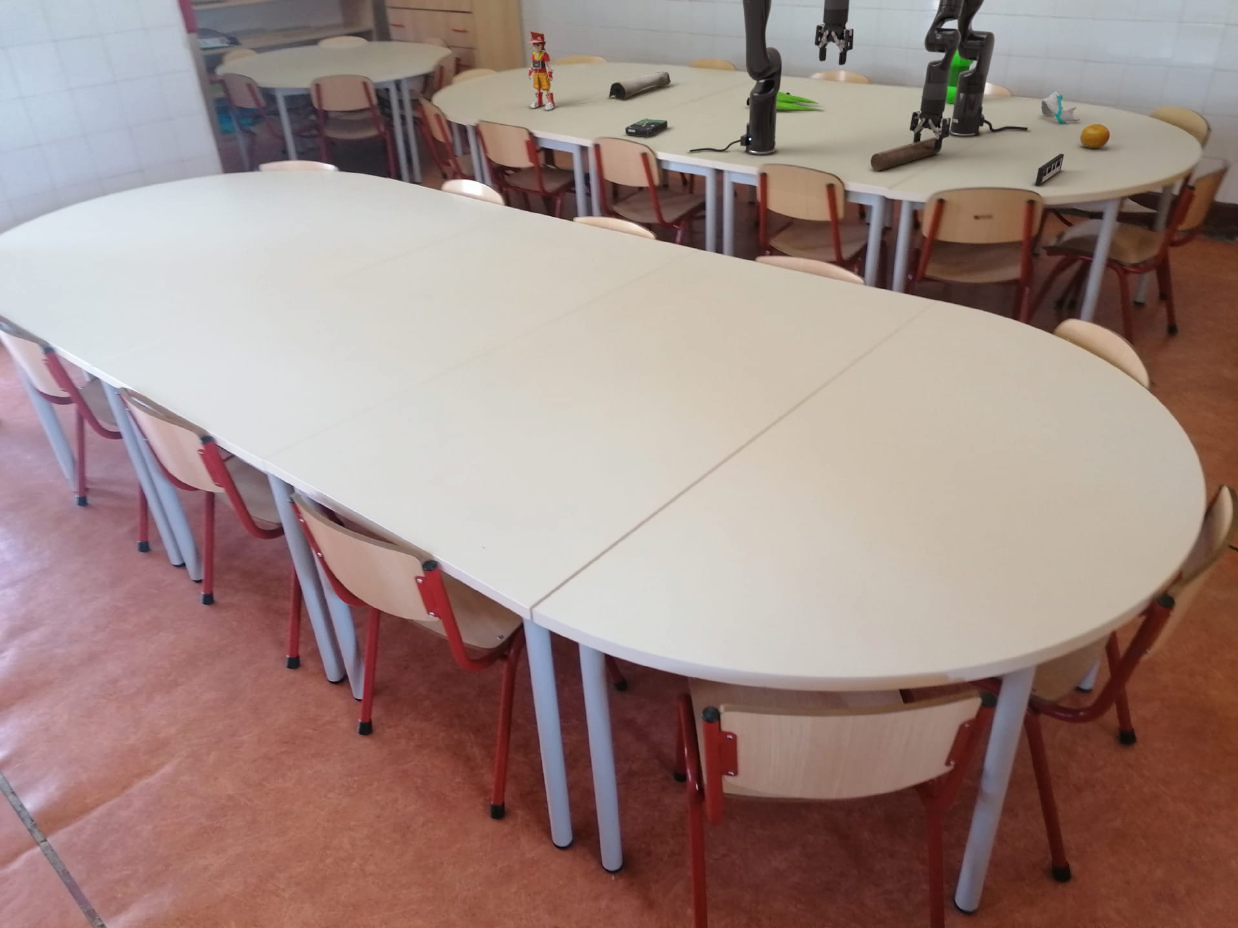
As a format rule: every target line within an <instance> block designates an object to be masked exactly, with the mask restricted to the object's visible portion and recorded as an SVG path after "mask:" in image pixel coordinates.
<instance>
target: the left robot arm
mask: <svg viewBox="0 0 1238 928" xmlns="http://www.w3.org/2000/svg"><path fill="white" fill-rule="evenodd" d="M741 1H742V9H743V18H744V19H743V20H744V30H745V31H744V32H745V67H746V71H747V74H748V76H749V77H750V78H751V79H752V80H753V81H755V84H754V86H753V87H752V89H751V90H750V93H749V97H750V105H749V106H748V107H749V109H748V122H747V123H746V124H745V125H746V127H745V129H746V130H745V132H746V133H745V134H743V135H741V136H740V139H737V140H734V141H732V142H730V143H729V144H728V145H727V146H726V147H725V148H722V149H719V148H713V147H701V148H694V149H689V153H695V152H701V151H714V152H719V153H720V152H725V151H727V150H728V149H729V148H730V147H731V146H733V145H735V144H737V143H740V144H739V146H740V147H745V152H746V153H749V154H751V155H757V156H761V155H762V156H765V155H771V154H773V153H775V152H776V146H777V141H776V131H777V110H778V109H777V95H778V92H780V89H781V81H782V69H783V61H782V60H783V59H782V56H781V53H780V52H779V50H778V49H777V48H775V47H773V46H767V37H766V34H767V26H768V22H769V18H770V13H771V8H772V2H773V1H772V0H741ZM823 1H824V3H823V15H822V24H818V25H816V27H815V36H814V46H817V48H818V51H819V52H818V59H819V60H818V61H819V62H825V61H826V60H827V50H828V48H827V47H828V45H829V44H830V43H833V44H835V45H836V46H837V47H838V50H839V52H838V53H839V54H838V65H839V66H844V65H846V63H847V56H848V52H849V51H852V50H853V49H854V29H853V28H847V26H846V25H847V23H848V22H849V12H850V11H849V10H850V0H823Z"/></svg>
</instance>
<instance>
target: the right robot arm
mask: <svg viewBox="0 0 1238 928" xmlns="http://www.w3.org/2000/svg"><path fill="white" fill-rule="evenodd" d="M984 2H985V0H939V3H938V7H937V11H936V14H935V16H934V18H933V21H932V22H931V25H930V27H929V29H928V30H927V32H926V35H925V37H924V43H923V45H924V48H925V50H926V51H927V52H929V53H937V54H938V53H940V54H944V56H943V58H941V59H936V60H931V61H929V62H928V63H927V66H926V73H925V79H924V84H923V89H922V93H921V94H922V95H921V102H920V108H919V109H920V110H917V111H913V112H912V114H911V119H910V125H909V131H911V132H912V133H913V140H912V143H915V142H918V141H921V138H922V132H923V131H924V130H925V129H928V130H930V131H932V133H933V134H934V137H936V138H937V139H935V146H934V150H935V151H938V150H940V149H941V150H942V148H941V146H942V147H943V140H944V139H946V138H949V136H950V135H952V136H956V137H973V136H979V131H980V127H984V125H985V124H986V125H987V126H988V129H989V131H990V132H992V133H997V132H1001V131H1005V130H1017V131H1028V129H1029V127H1026V126H1014V125H1007V126H1002V127H999V128H993V124H992V123H991V121H989V120H987V119H985V118H986V117H985V115H984V113H983V109H984V107H983V102H984V96H985V90H986V83H987V79H988V75H989V72H990V67H991V61H992V56H993V53H994V49H995V43H996V38H995V34H994V32H993V31H986V30H974V29H973V25H972V24H973V20H974V18H975V16H976V15H977V13H978V12H979V10H980V9H981V8H982V6H983V4H984ZM952 21H957V28H951V27H950V28H948V27H943V26H944V25H945V24H946V23H948V22H952ZM957 49H958V55H959V57H960V58H961V59H963V60H970V61H973V62H976V63H975V66H974V67H972V68H971V69H970V68H969V70H966V71H963V72H961V73H960V74H959V77H958V83H957V90H956V96H955V103H953V110H952V115H951V117H944V116H943V114H944V112H945V110H946V103H947V101H946V97H947V90H948V78H949V72H950V67H951V64H952V61H953V58H954V55H955V53H956V51H957ZM941 150H940V151H941Z"/></svg>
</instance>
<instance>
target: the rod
mask: <svg viewBox="0 0 1238 928" xmlns="http://www.w3.org/2000/svg"><path fill="white" fill-rule="evenodd" d="M935 139H937V138H936V136H933V137H930V138H929V137H928V138H926V139H922V140H920V141H918V142H915V143H913V142H911V143H908V144H904V145H902V146H897V147H894V148H891V149H887V150H883V151H880V152H875V153H874V154H872V156H871V157H870V167H871V168H872V169H873V170H874V171H877V172H880V171H882V170H886V169H889V168H893V167H896V166H899V165H903V164H906V163H909V162H913V161H916V160H919V159H923V158H926V157H931V156H933V155H936V154H938V153H940V152H941V151H942V147H943V145H942V146H941V149H940V150H938V151H935V150H934V146H935Z"/></svg>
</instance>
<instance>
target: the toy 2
mask: <svg viewBox="0 0 1238 928" xmlns="http://www.w3.org/2000/svg"><path fill="white" fill-rule="evenodd" d="M745 103H746V106H748V107H749V105H750V96H749V97H747V99H746V102H745ZM799 103H803V104H804V103H805V104H818V105H819V104H820V103H819V102H817V101H815V100H812V99H809V98H805V97H801V96H797V95H793V94H791V93H790V92H785V93H784V91H783V92H782V91H779V92H778V95H777V110H780V111H781V110H782V111H783V110H784V111H821V108H815V107H810V106H804V105H800V104H799Z"/></svg>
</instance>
